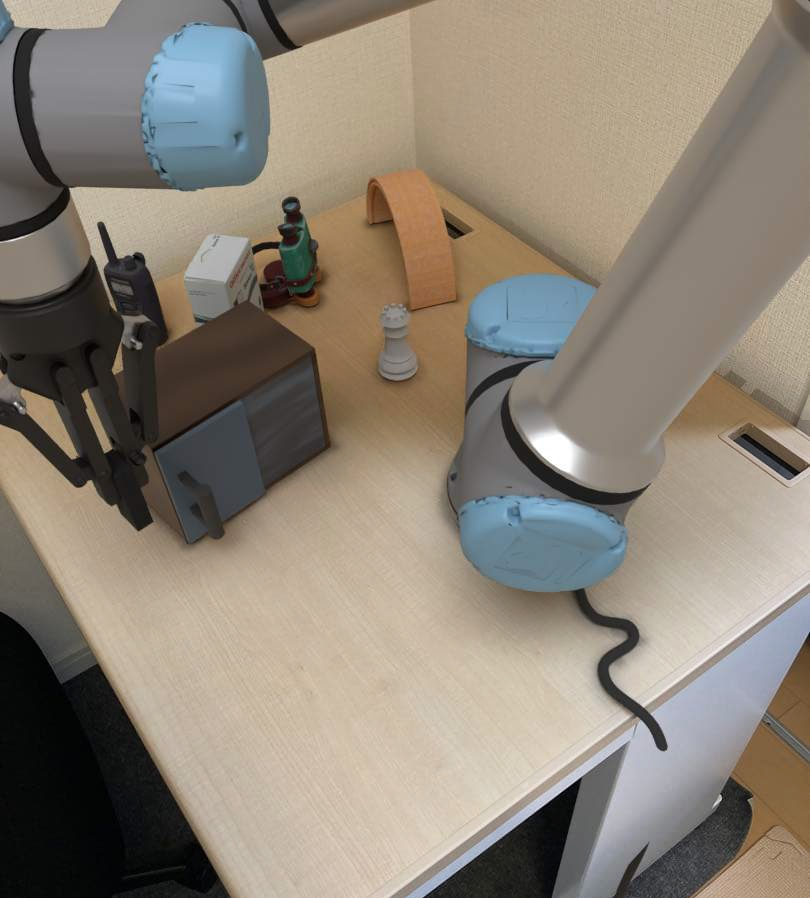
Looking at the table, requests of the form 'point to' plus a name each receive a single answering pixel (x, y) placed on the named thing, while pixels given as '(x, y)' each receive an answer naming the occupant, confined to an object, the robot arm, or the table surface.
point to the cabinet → (238, 395)
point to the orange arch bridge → (416, 233)
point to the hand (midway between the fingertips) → (137, 517)
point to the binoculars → (291, 261)
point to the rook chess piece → (396, 345)
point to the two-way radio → (131, 284)
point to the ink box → (221, 277)
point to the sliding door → (212, 472)
